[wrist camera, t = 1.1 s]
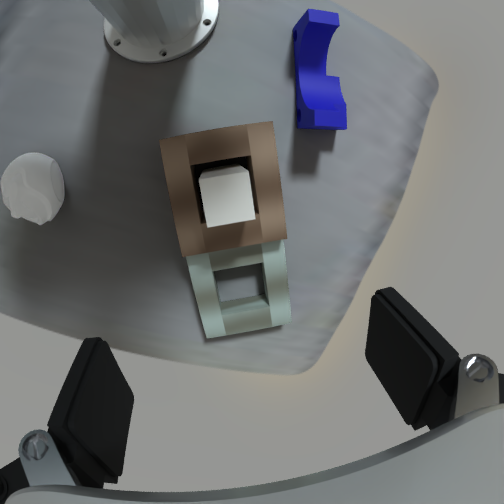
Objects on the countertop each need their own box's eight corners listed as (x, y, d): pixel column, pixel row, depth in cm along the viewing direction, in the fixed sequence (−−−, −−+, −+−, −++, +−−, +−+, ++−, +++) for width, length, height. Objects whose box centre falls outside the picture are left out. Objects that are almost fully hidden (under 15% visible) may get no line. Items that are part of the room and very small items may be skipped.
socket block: (167, 140, 29) (159, 139, 24) (263, 124, 29) (272, 121, 25) (206, 324, 36) (206, 349, 32) (286, 309, 37) (295, 332, 32)
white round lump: (19, 204, 28) (-18, 220, 21) (32, 144, 26) (-7, 147, 19) (69, 224, 30) (36, 245, 23) (84, 160, 28) (51, 166, 21)
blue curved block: (335, 130, 30) (359, 128, 25) (296, 128, 30) (314, 125, 24) (330, 33, 26) (352, 16, 21) (292, 29, 26) (308, 8, 20)
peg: (203, 169, 30) (198, 179, 21) (237, 163, 30) (248, 171, 21) (209, 202, 31) (207, 227, 22) (242, 196, 32) (255, 219, 22)
